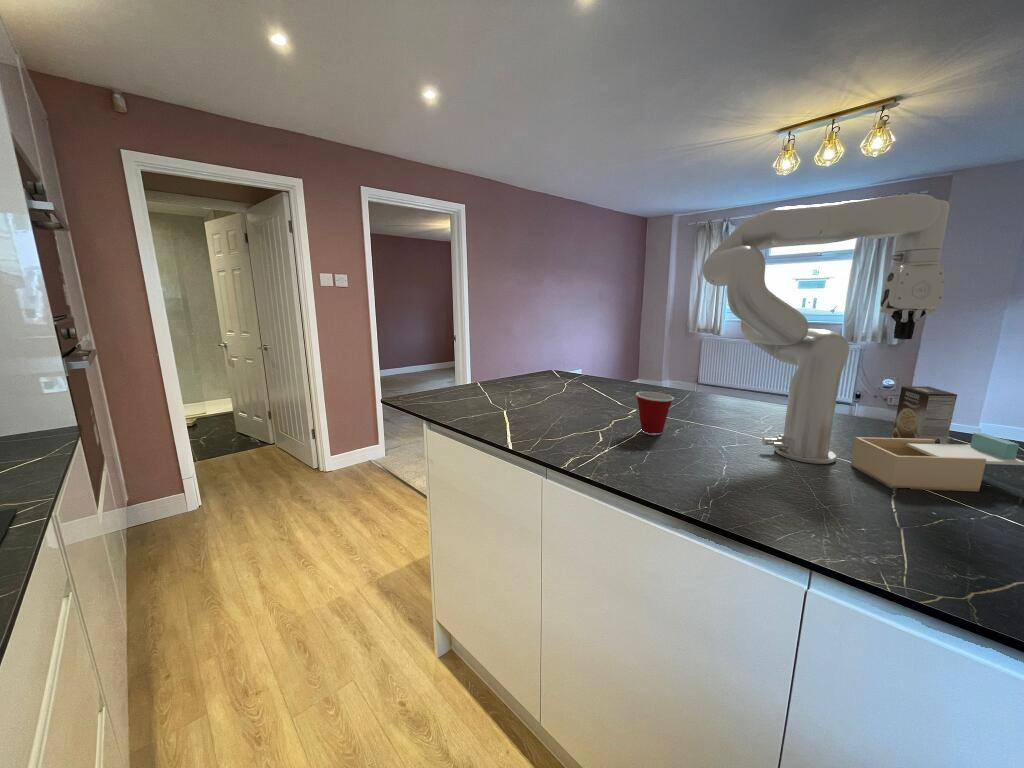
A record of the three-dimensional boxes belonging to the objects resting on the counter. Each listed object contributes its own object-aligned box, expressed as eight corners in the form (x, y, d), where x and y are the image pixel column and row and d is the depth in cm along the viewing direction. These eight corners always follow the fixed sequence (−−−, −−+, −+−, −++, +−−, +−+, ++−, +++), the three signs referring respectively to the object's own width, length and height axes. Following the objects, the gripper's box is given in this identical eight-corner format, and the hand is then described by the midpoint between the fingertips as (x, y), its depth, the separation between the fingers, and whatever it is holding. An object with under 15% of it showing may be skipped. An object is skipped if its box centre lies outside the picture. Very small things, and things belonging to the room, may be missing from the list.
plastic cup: (677, 438, 115) (680, 398, 112) (640, 439, 115) (642, 398, 113) (664, 427, 125) (666, 390, 123) (629, 427, 126) (631, 390, 123)
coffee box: (889, 443, 108) (899, 385, 105) (917, 444, 107) (928, 386, 104) (915, 455, 99) (927, 393, 96) (945, 457, 98) (959, 393, 95)
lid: (946, 462, 81) (950, 445, 81) (905, 445, 91) (908, 429, 90) (1025, 465, 80) (1030, 447, 79) (975, 447, 89) (979, 431, 88)
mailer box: (890, 488, 83) (896, 456, 81) (850, 465, 94) (855, 437, 93) (978, 491, 81) (986, 459, 79) (926, 467, 92) (932, 438, 91)
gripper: (893, 258, 89) (879, 340, 93) (969, 256, 87) (952, 340, 91) (868, 262, 97) (857, 337, 100) (938, 260, 95) (923, 337, 98)
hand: (902, 338), depth 96 cm, fingers closed
